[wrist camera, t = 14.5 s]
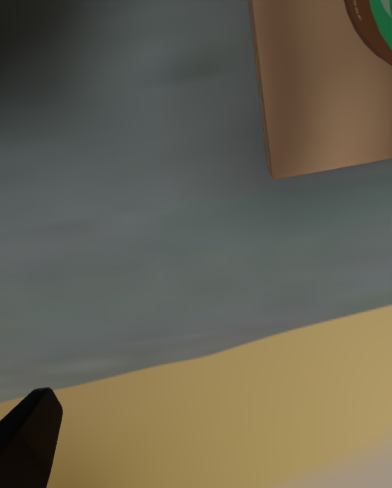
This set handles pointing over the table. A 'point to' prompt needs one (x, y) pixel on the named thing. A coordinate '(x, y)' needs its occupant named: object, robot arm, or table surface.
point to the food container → (373, 25)
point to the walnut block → (318, 88)
